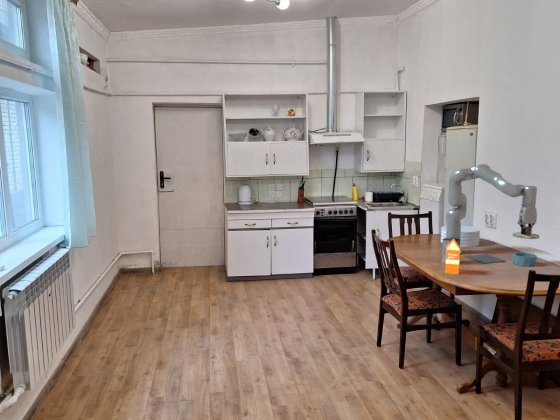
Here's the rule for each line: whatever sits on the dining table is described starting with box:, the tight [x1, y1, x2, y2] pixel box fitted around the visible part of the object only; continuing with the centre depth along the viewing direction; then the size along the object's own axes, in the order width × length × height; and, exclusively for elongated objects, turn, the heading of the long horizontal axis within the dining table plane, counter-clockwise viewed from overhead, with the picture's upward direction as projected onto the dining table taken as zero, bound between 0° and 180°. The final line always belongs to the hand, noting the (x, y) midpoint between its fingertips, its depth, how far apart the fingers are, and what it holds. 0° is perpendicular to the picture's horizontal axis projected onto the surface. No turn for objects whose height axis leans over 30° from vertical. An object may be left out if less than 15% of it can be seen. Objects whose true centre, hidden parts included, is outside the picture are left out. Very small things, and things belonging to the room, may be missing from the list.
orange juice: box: [444, 239, 461, 275], centre depth 275 cm, size 8×9×20 cm
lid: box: [512, 225, 540, 240], centre depth 289 cm, size 15×15×6 cm
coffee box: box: [441, 237, 461, 264], centre depth 296 cm, size 9×6×16 cm
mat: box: [464, 253, 507, 265], centre depth 304 cm, size 18×18×1 cm
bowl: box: [512, 251, 537, 268], centre depth 292 cm, size 13×13×6 cm
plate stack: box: [440, 224, 481, 248], centre depth 352 cm, size 28×28×12 cm
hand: (526, 233), depth 289 cm, fingers closed on lid, 4 cm apart
